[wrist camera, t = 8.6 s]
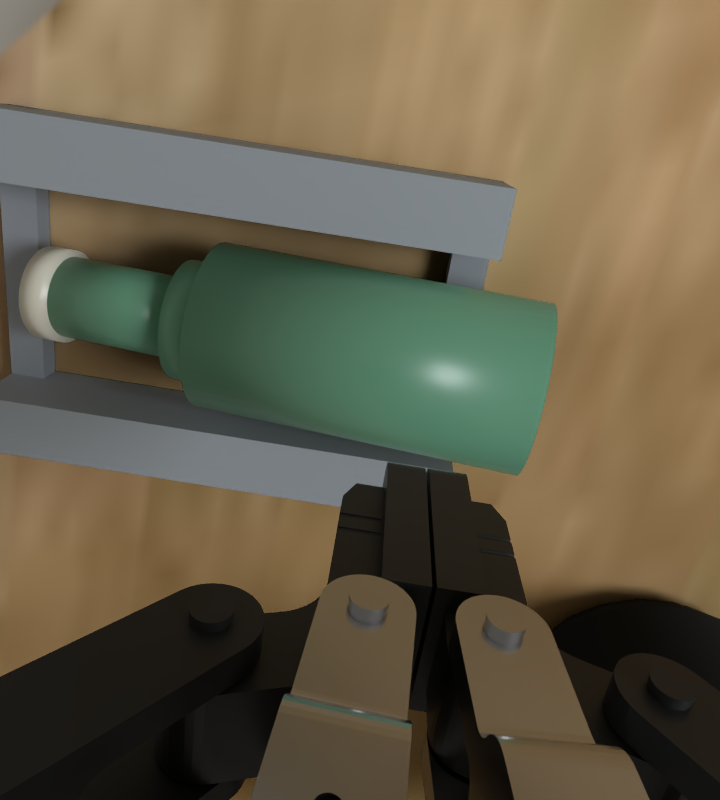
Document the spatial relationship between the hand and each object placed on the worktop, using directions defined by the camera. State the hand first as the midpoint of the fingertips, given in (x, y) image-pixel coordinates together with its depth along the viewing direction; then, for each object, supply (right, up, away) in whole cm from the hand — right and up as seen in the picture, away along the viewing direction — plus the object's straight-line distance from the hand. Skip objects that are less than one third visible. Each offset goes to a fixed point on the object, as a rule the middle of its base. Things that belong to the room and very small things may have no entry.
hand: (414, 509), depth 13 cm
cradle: (-5, +5, +11) cm, 13 cm away
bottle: (+4, +2, +7) cm, 9 cm away
